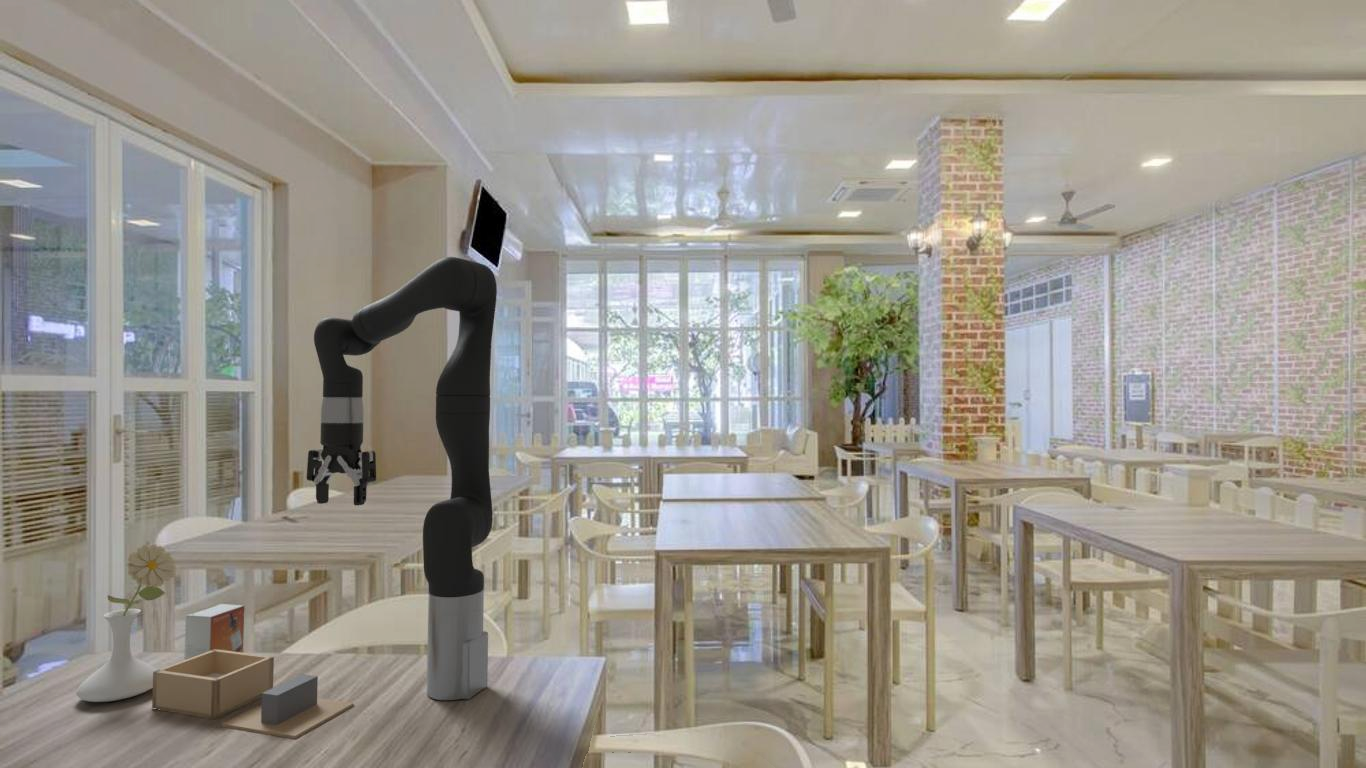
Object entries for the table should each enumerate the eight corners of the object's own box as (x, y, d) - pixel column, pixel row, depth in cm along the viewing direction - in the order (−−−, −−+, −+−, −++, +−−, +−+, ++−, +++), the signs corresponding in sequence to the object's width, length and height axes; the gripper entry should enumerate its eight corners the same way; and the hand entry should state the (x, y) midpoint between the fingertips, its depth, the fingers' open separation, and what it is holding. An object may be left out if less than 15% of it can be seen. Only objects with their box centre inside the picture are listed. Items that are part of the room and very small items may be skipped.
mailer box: (273, 691, 121) (273, 656, 121) (214, 719, 111) (215, 680, 111) (214, 683, 125) (214, 649, 125) (152, 709, 114) (153, 671, 114)
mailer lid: (353, 709, 116) (354, 675, 116) (295, 742, 104) (295, 705, 105) (285, 699, 120) (285, 666, 120) (221, 730, 108) (222, 694, 108)
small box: (208, 675, 128) (210, 617, 129) (183, 672, 130) (184, 615, 130) (244, 659, 136) (245, 604, 137) (219, 657, 137) (221, 603, 138)
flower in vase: (86, 715, 112) (91, 556, 112) (67, 697, 119) (72, 547, 119) (182, 689, 122) (186, 544, 123) (160, 673, 129) (163, 536, 130)
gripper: (386, 420, 139) (384, 503, 139) (326, 420, 143) (325, 500, 143) (359, 421, 132) (357, 508, 132) (297, 420, 136) (295, 505, 135)
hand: (340, 504), depth 137 cm, fingers open, 8 cm apart
